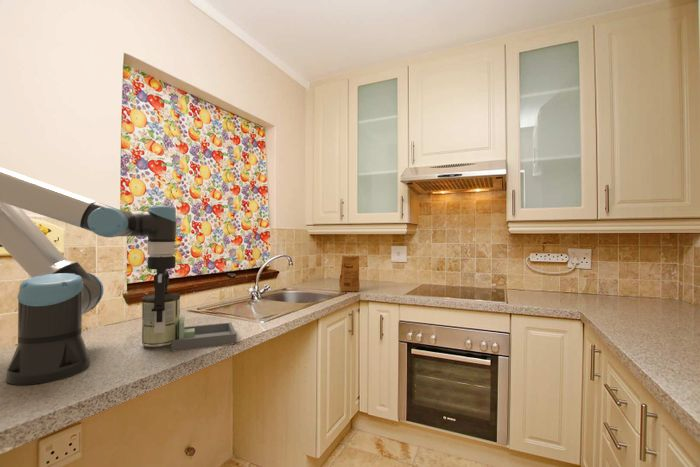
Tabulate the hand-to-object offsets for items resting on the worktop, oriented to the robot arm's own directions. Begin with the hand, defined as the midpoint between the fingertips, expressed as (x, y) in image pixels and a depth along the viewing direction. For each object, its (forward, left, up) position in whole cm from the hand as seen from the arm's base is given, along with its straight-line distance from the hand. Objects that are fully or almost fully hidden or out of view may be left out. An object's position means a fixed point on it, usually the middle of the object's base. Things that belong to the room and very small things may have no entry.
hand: (161, 327), depth 102 cm
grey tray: (+12, 0, -5) cm, 13 cm away
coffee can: (0, 0, -4) cm, 4 cm away
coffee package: (+97, +69, -5) cm, 119 cm away
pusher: (+7, 0, -5) cm, 9 cm away
